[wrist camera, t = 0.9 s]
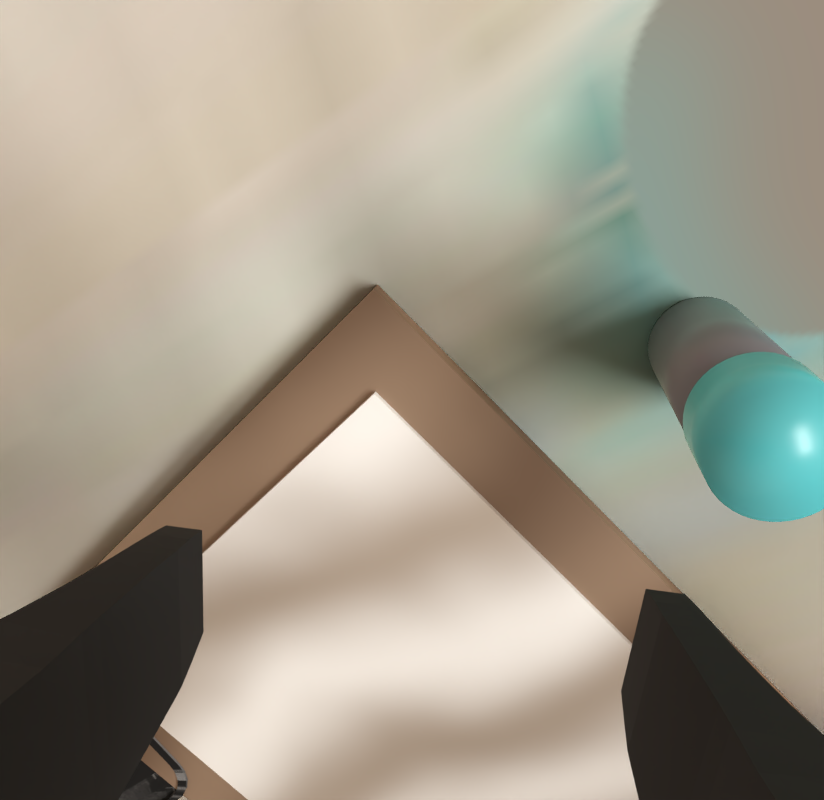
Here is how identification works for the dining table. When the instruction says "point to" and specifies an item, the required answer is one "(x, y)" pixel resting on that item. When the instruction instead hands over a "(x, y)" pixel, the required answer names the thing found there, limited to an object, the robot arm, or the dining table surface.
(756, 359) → the marker
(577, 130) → the dining table surface
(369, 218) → the dining table surface
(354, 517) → the drawing pad
